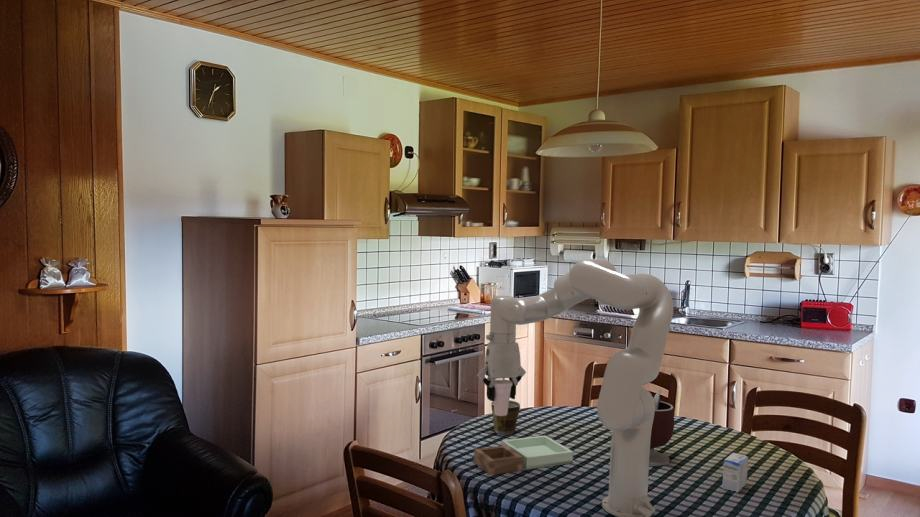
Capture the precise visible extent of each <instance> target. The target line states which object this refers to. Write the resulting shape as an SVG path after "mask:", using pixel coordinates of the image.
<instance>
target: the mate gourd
mask: <svg viewBox="0 0 920 517" xmlns="http://www.w3.org/2000/svg"><path fill="white" fill-rule="evenodd" d="M661 392H662V391H661V389H660V390H658V391H656V393H655V395H654V397H653V399H654V403H655V413H654V419H653V424H652V429H651V438H650V453H649V467H651V466H653V467H660V466H662V465H663V466H666V465H668V464H670V462H669V461H670V457H669V456H668V455H666V454H664V453H661V452H660V451H655V449H657V448H660V447H661V448H662V447H664V446H666V445H667V444H668V443H669V442H670V441H671V439H672V437H673V433H674V429H675V413H674V406H673V405H672V404H671V403H668V402H665V401H662V400H661V399H660V396H661Z"/></svg>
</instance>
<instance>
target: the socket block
mask: <svg viewBox="0 0 920 517" xmlns="http://www.w3.org/2000/svg"><path fill="white" fill-rule="evenodd" d="M473 463H474V464H475V463H476V465H477V466H478V467H479V468H480V469H482V470H483V471H484V472H485V473H486V474H487V475H489V476H493V475H499V474H507V473H514V472H522V471H523V466H522V463H523V457H522V456H520V455H519V454H517V453H516V452H515V451H513V450H512V449H510V448H509V447H507V446H506V445H505V446H502V445H498V446H490V447H481V448H475V449H474V450H473Z"/></svg>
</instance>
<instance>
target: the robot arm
mask: <svg viewBox="0 0 920 517" xmlns="http://www.w3.org/2000/svg"><path fill="white" fill-rule="evenodd" d="M588 299H593V300H595V301H598V302H599V303H600V302H601V303H602V304H605V305H607V306H609V307H612V308H615V309H617V310H622V311H631V310H636V309H638V310H639V311H638V315H637V317H636V319H635V322H634V324H633V325H632V326H633V327H632V329H631V335H630V340H629V342H628V344H627V347H626V348H624V349H621V350H619V351H617V352H614V354H612V356H611V357H610V359H609V360H608V362H607V365H606V367H605V370H604V373H603V378H602V383H601V388H600V391H599V395H598V400H597V404H596V405H597V406H596V408H597V410H596V411H597V412H596V413H597V416H598V420H599V421H600V423H601V424H602V425H603V427H604V428H606V430H609V431H612V432H611V438H610V440H611V441H610V442H611V443H610V460H609V479H608V480H609V481H608V482H609V483H608V495H607V496H605V497H603V499H602V500H601V507H602V508H603V509H604V510H605V511H606V512H607V513H608V514H610V515H613V516H614V517H651V516H652V515H653V514H654V513H655V512H656V508H655V507H654V506H653V505H652V504H651V502H650V499H651V498H650V496H648V492H649V491H648V490H649V489H648V488H649V474H650V473H649V470H650V469H649V468H650V465H649V453H650V438H651V429H652V424H653V419H654V413H655V403H654V399H653V398H654V397H653V395H652V393H651V392H650V390H648V389H647V388H645V387H643V386H644V385H647V384H650V383H651V382H653V381H654V380H655V379H657V377H658V375H659V374H660V371H661V366H662V361H663V358H664V354H665V350H666V345H667V340H668V336H669V332H670V328H671V324H672V319H673V315H674V300H673V297H672V294H671V291H670V289H669V288H668V287H667V285H666V284H665V283H664V282H663V281H662V280H661V279H659V278H658V277H656V276H654V275H652V274H648V273H635V274H624V273H621V272H619V271H617V270H616V267H615V266H614V265H613V263H611V262H610V261H608V260H607V259H604V258H603V259H602V258H590V259H581V260H579V261H577V262H576V263H574V265H572V267H571V268H570V270H569V272H567V273H565V274H563V275H561V276H559V277H557V278H556V279H555V280H554V282H553V287H552V288H551V289H549V290H547V291H544V292H542V293H540V294H537V295H535V296H527V297H524V296H523V297H519V298H518V297H517V298H515V297H513V296H512V295H511V296H510V295H509V296H508V295H496V296H493V297H492V298H491V300H490V316H489V317H490V318H489V321H490V323H489V326H490V327H489V333H488V334H486V336H485V339H486V340H488V342H487V345H486V350H485V355H484V365H483V367H482V368H481V369H480V370H479V371H478V373H477V377H478V378H479V379H480V381H482V382H483V384H484V385H485V386H486V398H487V400H489V401H491V402H493V401H494V396H495V388H494V387H493V385H494V382H495V380H496V379H503V378H505V379H508V380H510V381H512V386H511V392H510V400H516V395H517V386H518V384H519V382H520V381H521V380H522V378H523V377H524V376H525V374H527V371H526V370H525V369H524V368H523V367H522V365H521V363H522V362H521V352H520V347H519V346H520V345H519V342H516V336H517V326H518V325H519V326H520V325H529V324H533V323H534V324H535V323H540V322H543V321H544V322H545V321H546V320H548V319H551V318H552V317H555V316H557V315H559V314H561V313H563V312H565V311H567V310H569V309H570V308H571V307H573V306H575V305H578V304H579V303H582V302H584V301H586V300H588ZM486 376H487V378H486Z"/></svg>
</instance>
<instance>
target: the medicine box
mask: <svg viewBox="0 0 920 517" xmlns="http://www.w3.org/2000/svg"><path fill="white" fill-rule="evenodd" d="M748 468H749V456H747V455H744V454H740V453H736V452H732V453H731V454H729V456H727V457H726V458H725V459H724V460H723V470H722V471H723V472H722V485H721V487H722V488H723V489H727V490H731V491H736V492H739V491H740V490H741V489H742V487H743V486H744V485H745V484H746V485H747V480H748ZM723 489H722V490H723ZM742 490H743V489H742ZM742 490H741V491H742ZM741 491H740V492H741ZM740 492H739V493H740Z"/></svg>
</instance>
